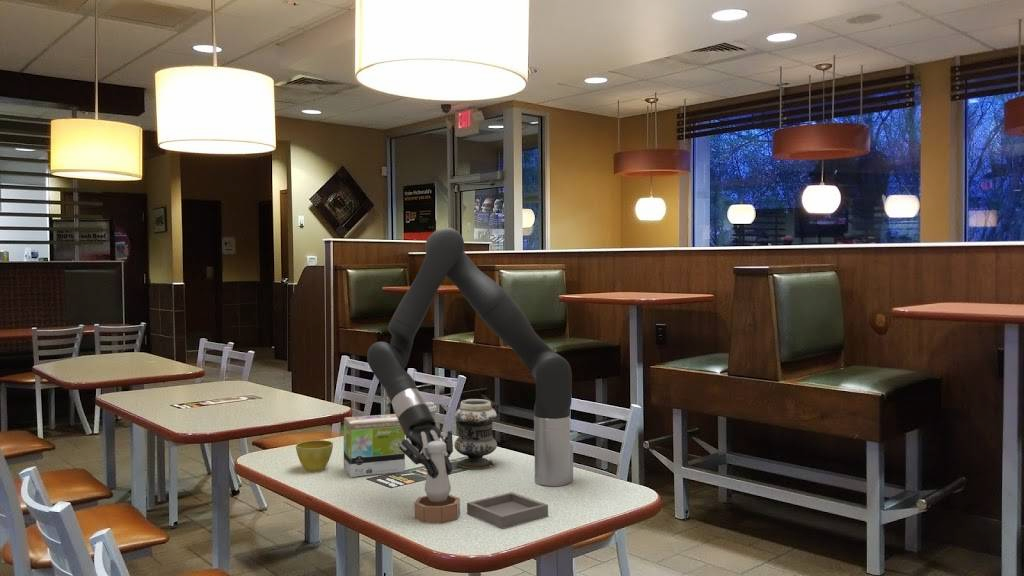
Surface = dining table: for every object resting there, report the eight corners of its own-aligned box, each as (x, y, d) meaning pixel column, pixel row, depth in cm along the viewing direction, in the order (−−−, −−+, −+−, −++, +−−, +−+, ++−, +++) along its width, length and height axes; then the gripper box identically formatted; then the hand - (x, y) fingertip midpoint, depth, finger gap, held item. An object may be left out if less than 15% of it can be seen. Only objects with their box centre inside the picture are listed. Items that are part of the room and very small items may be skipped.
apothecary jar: (492, 471, 214) (491, 405, 213) (449, 469, 216) (448, 404, 215) (500, 460, 226) (500, 398, 225) (460, 458, 228) (459, 397, 227)
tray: (511, 502, 186) (511, 491, 186) (548, 515, 175) (547, 504, 175) (467, 513, 178) (466, 502, 177) (502, 528, 167) (502, 516, 167)
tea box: (350, 478, 208) (350, 423, 208) (343, 469, 217) (342, 416, 217) (405, 472, 214) (405, 418, 214) (396, 463, 223) (395, 412, 223)
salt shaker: (446, 503, 173) (445, 445, 172) (421, 502, 174) (420, 444, 173) (453, 495, 179) (452, 439, 178) (429, 494, 180) (428, 438, 179)
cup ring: (443, 506, 183) (443, 491, 183) (467, 516, 175) (467, 501, 175) (408, 515, 177) (407, 499, 177) (431, 526, 169) (430, 510, 169)
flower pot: (337, 471, 215) (336, 445, 215) (300, 476, 211) (299, 449, 211) (328, 463, 224) (328, 438, 224) (293, 467, 220) (292, 442, 220)
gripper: (391, 407, 177) (421, 471, 168) (443, 399, 186) (475, 459, 177) (380, 426, 181) (409, 490, 172) (432, 418, 190) (462, 478, 181)
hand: (442, 474), depth 174 cm, fingers closed on salt shaker, 3 cm apart
